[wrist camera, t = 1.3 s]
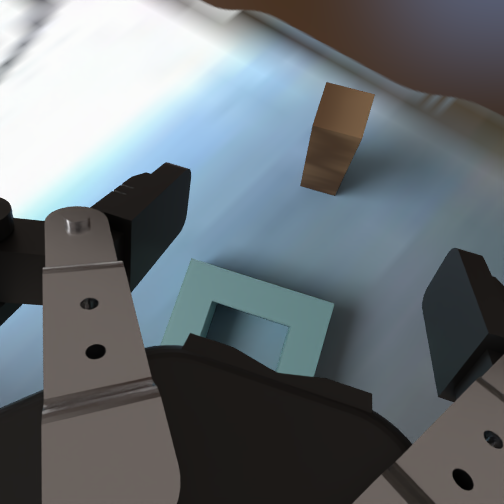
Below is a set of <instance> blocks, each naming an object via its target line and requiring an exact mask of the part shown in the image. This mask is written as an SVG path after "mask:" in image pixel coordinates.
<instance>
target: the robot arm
mask: <svg viewBox="0 0 504 504" xmlns="http://www.w3.org/2000/svg"><path fill="white" fill-rule="evenodd" d="M190 182H191V171H190V169H188V168H184V167H181V166H177V165H174V164H171V163H167V162H166V163H164V164H163V165H162V166H160V167H159V168H158V169H157V170H155V171H154V172H153V173H152V174H150V173H143V174H139V175H136V176H133V177H131V178H129V179H128V180H127V181H125V182H124V183H123V184H122V186H121V185H120V186H119V187H117V188H116V189H115V190H114V192H113V191H112V192H110V193H109V194H108V195H106V196H105V197H104V198H102V199H101V200H100V201H98V202H97V203H96V204H94V205H93V206H92V207H90V208H89V207H81V206H74V207H66V208H61V209H58V210H56V211H54V212H52V213H50V214H49V215H48V216H47V217H46V219H45V221H38V220H29V219H19V218H13V215H12V209H11V205H10V203H9V202H8V201H6V200H5V199H3V198H0V326H1V325H2V324H3V323H4V322H5V321H6V320H7V319H8V318H9V317H10V316H11V315H12V314H13V313H14V312H15V311H16V310H17V309H18V308H19V307H20V306H21V305H22V304H33V305H43V373H44V389H43V390H41V391H39V392H36V393H34V394H32V395H29V396H27V397H25V398H23V399H20V400H18V401H16V402H13V403H11V404H9V405H6V406H4V407H2V408H0V504H504V286H503V285H502V284H501V283H500V282H499V281H498V280H497V278H496V277H492V275H491V273H490V271H489V269H488V266H487V264H486V262H485V260H484V258H483V256H481V255H478V254H474V253H471V252H467V251H464V250H461V249H457V248H453V249H452V250H450V251H449V253H448V254H447V256H446V257H445V259H444V261H443V262H442V264H441V266H440V267H439V269H438V271H437V272H436V274H435V276H434V277H433V279H432V281H431V282H430V284H429V286H428V287H427V289H426V291H425V294H424V297H423V302H422V310H423V315H424V321H425V326H426V332H427V338H428V343H429V349H430V354H431V360H432V365H433V371H434V377H435V382H436V388H437V393H438V397H440V398H443V399H446V400H449V401H452V402H454V403H453V404H452V405H451V406H450V407H449V408H448V409H447V410H446V411H445V412H444V413H443V414H442V415H441V416H440V417H439V418H438V419H437V420H436V421H435V422H434V423H433V424H432V425H431V426H430V427H429V428H428V429H427V430H426V431H425V432H424V433H423V435H422V436H421V437H420V438H419V439H418V440H417V441H416V442H415V443H414V444H413V445H412V443H411V442H410V441H409V440H408V439H407V438H406V437H405V436H404V435H403V434H402V433H401V432H400V431H399V430H398V429H397V428H396V427H395V426H394V425H393V424H391V423H390V422H389V421H388V420H386V419H385V418H384V417H382V416H381V415H379V414H378V413H376V412H375V411H373V410H372V394H371V393H368V392H365V391H362V390H359V389H356V388H353V387H350V386H347V385H344V384H341V383H338V382H335V381H332V380H330V379H327V378H319V377H310V376H302V375H293V374H284V373H278V372H275V371H273V370H271V369H270V368H268V367H266V366H264V365H263V364H261V363H259V362H258V361H256V360H254V359H252V358H251V357H249V356H247V355H246V354H244V353H242V352H241V351H239V350H237V349H235V348H234V347H231V346H228V345H225V344H222V343H219V342H216V341H213V340H210V339H207V338H204V337H201V336H198V335H195V334H192V333H190V334H189V336H188V338H187V339H186V341H185V343H184V345H183V346H181V345H161V346H152V347H147V348H144V344H143V340H142V336H141V332H140V328H139V324H138V320H137V316H136V312H135V308H134V304H133V300H132V296H131V292H132V291H133V290H134V288H135V287H136V286H137V285H138V284H139V282H140V281H141V280H142V279H143V277H144V276H145V275H146V274H147V272H148V271H149V270H150V269H151V268H152V266H153V265H154V264H155V263H156V261H157V260H158V259H159V258H160V256H161V255H162V254H163V253H164V251H165V250H166V249H167V248H168V247H169V245H170V244H171V243H172V242H173V240H174V239H175V238H176V237H177V235H178V234H179V233H180V232H181V230H182V228H183V226H184V223H185V220H186V216H187V208H188V199H189V191H190Z"/></svg>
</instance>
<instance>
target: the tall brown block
mask: <svg viewBox="0 0 504 504" xmlns="http://www.w3.org/2000/svg"><path fill="white" fill-rule="evenodd" d="M374 96H375V94H371V93H367V92H363V91H359V90H355V89H351V88H347V87H343V86H340V85H336V84H332V83H328V82H326V85H325V88H324V92H323V95H322V98H321V101H320V104H319V107H318V110H317V113H316V117H315V120H314V123H313V126H312V131H311V136H310V141H309V146H308V151H307V156H306V161H305V166H304V170H303V175H302V180H301V185H300V186H302V187H306V188H309V189H313V190H316V191H320V192H323V193H327V194H330V195H334V196H335V194H336V192H337V190H338V188H339V186H340V184H341V182H342V180H343V178H344V175H345V173H346V171H347V169H348V167H349V165H350V163H351V161H352V159H353V156H354V154H355V152H356V150H357V148H358V146H359V144H360V142H361V140H362V137H363V133H364V130H365V127H366V123H367V120H368V116H369V113H370V110H371V106H372V103H373V99H374Z"/></svg>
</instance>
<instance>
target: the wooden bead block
mask: <svg viewBox="0 0 504 504" xmlns="http://www.w3.org/2000/svg"><path fill="white" fill-rule="evenodd" d="M217 303H218V304H221V305H224V306H227V307H230V308H233V309H236V310H239V311H242V312H245V313H248V314H251V315H254V316H257V317H260V318H264V319H267V320H270V321H273V322H276V323H279V324H282V325H285V326H288V327H289V329H288V332H287V335H286V339H285V342H284V345H283V348H282V352H281V355H280V358H279V362H278V365H277V368H276V372H278V373H284V374H293V375H302V376H310V377H314V374H315V371H316V367H317V363H318V360H319V356H320V353H321V349H322V346H323V342H324V339H325V335H326V332H327V328H328V325H329V321H330V318H331V314H332V311H333V307H334V303H331V302H327V301H324V300H321V299H318V298H315V297H312V296H309V295H305V294H302V293H299V292H296V291H293V290H290V289H286V288H283V287H280V286H277V285H274V284H271V283H267V282H264V281H261V280H258V279H255V278H252V277H248V276H245V275H242V274H239V273H236V272H233V271H230V270H226V269H223V268H220V267H217V266H214V265H211V264H207V263H204V262H201V261H198V260H195V259H192V258H191V261H190V264H189V267H188V269H187V272H186V275H185V278H184V281H183V283H182V286H181V289H180V292H179V295H178V297H177V300H176V303H175V306H174V309H173V311H172V314H171V317H170V320H169V323H168V325H167V328H166V331H165V334H164V337H163V339H162V342H161V345H181V346H183V345H184V343H185V341H186V339H187V338H188V336H189V334H190V333H192V334H195V335H198V336H201V337H204V338H206V336H207V333H208V330H209V327H210V324H211V321H212V318H213V315H214V312H215V309H216V306H217ZM161 345H160V346H161Z"/></svg>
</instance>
